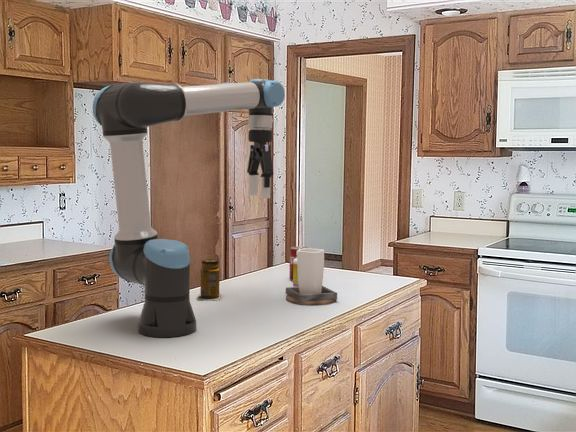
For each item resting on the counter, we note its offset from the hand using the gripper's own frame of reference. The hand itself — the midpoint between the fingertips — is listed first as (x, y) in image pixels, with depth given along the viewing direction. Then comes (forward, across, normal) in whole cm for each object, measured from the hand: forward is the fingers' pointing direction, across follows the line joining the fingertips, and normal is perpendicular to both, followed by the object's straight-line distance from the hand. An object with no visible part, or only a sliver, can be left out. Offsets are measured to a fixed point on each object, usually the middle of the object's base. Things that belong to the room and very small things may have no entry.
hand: (259, 196), depth 216 cm
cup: (+31, -8, -15) cm, 36 cm away
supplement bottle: (+32, +9, -19) cm, 39 cm away
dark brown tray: (+32, -8, -15) cm, 37 cm away
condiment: (+33, +4, +15) cm, 36 cm away
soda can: (+32, +22, -23) cm, 45 cm away
